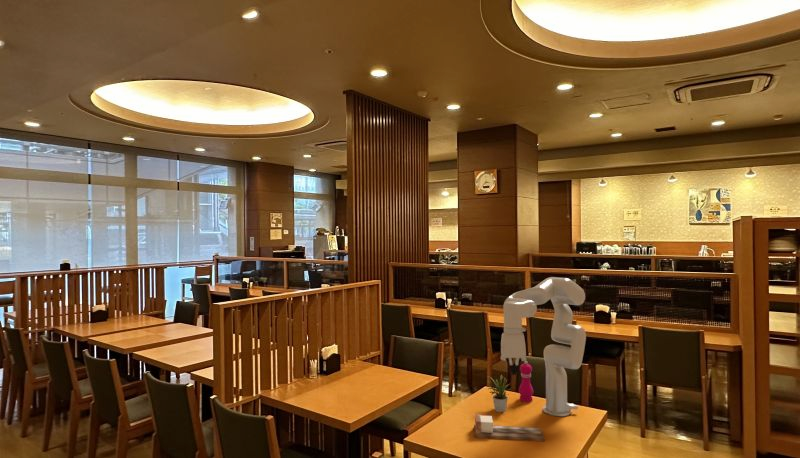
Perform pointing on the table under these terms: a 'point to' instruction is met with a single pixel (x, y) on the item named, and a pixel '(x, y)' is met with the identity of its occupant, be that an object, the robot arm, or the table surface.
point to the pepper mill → (526, 383)
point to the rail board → (508, 432)
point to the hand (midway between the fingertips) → (513, 373)
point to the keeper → (486, 424)
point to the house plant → (499, 395)
